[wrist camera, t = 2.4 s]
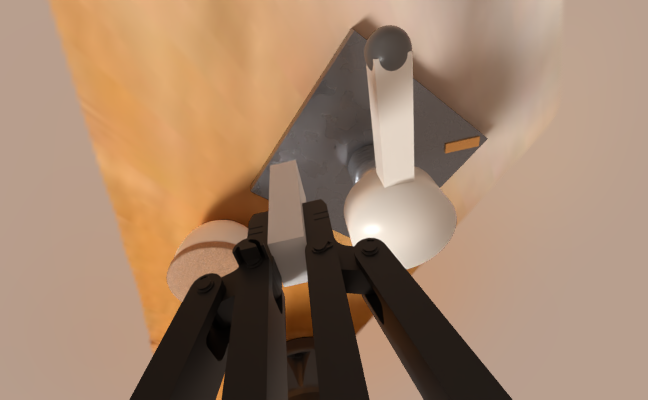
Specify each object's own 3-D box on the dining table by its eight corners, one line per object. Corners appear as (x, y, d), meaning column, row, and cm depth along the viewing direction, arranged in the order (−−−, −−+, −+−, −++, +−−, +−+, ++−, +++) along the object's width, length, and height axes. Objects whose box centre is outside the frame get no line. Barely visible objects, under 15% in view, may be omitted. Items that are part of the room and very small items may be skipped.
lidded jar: (176, 257, 43) (154, 316, 35) (192, 194, 38) (171, 248, 30) (253, 272, 46) (249, 330, 39) (278, 217, 41) (278, 270, 34)
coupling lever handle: (435, 231, 33) (453, 258, 29) (350, 250, 32) (358, 279, 29) (443, 8, 21) (474, 12, 18) (311, 37, 21) (318, 47, 18)
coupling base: (375, 243, 46) (396, 296, 38) (251, 184, 38) (244, 236, 30) (480, 133, 38) (533, 172, 30) (351, 28, 30) (377, 43, 22)
